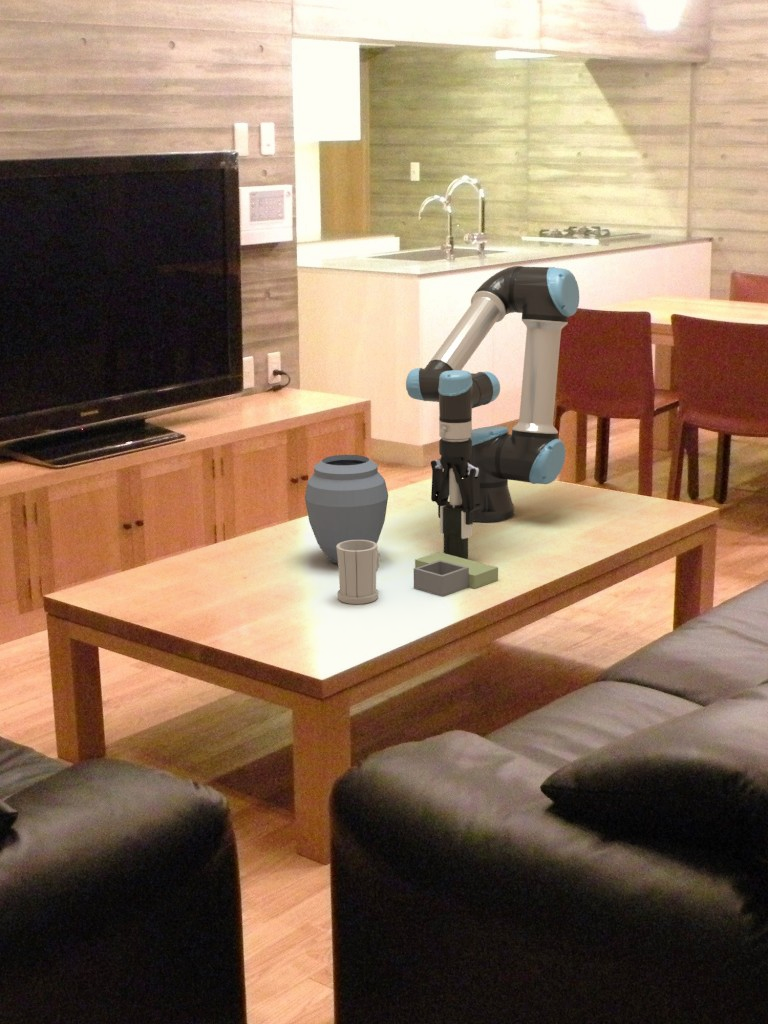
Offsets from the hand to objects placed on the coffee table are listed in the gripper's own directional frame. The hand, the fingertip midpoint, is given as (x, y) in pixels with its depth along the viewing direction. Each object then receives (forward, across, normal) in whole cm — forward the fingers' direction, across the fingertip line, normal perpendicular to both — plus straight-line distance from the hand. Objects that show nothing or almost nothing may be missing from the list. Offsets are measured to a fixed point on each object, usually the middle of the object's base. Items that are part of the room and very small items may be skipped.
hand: (455, 534), depth 324 cm
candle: (+6, 0, 0) cm, 6 cm away
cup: (+6, +3, -35) cm, 36 cm away
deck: (+6, +9, -14) cm, 18 cm away
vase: (+6, -18, -18) cm, 26 cm away
